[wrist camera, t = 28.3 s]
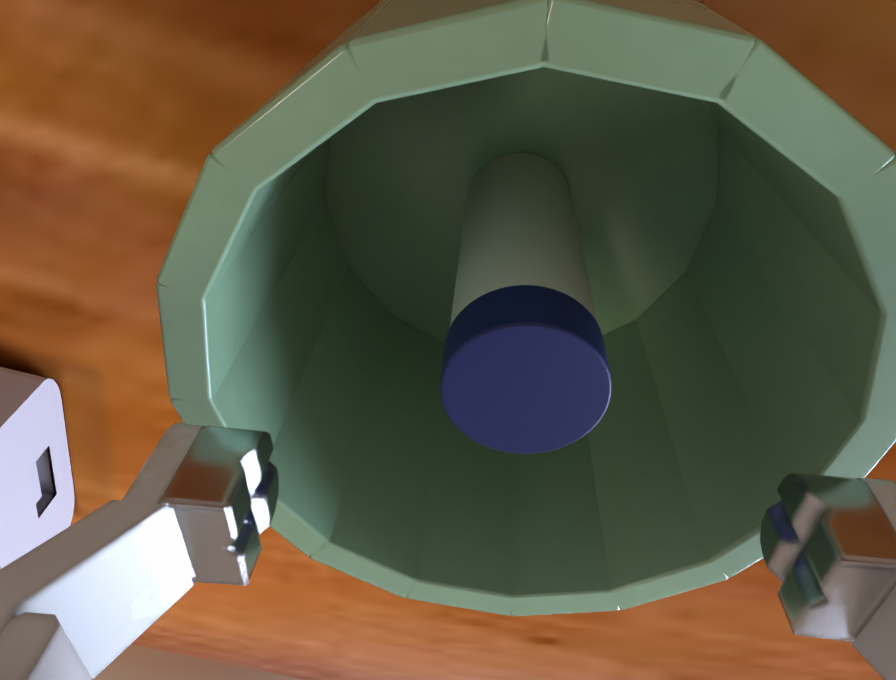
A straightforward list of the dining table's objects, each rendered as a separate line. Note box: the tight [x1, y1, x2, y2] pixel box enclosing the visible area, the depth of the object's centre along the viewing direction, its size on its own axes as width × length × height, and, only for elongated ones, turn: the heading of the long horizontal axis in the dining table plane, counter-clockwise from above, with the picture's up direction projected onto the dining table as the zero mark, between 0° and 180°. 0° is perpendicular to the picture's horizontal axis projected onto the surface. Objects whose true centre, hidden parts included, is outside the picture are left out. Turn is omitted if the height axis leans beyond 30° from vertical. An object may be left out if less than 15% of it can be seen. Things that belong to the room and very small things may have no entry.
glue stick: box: [440, 153, 612, 454], centre depth 15 cm, size 3×3×8 cm
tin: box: [156, 0, 896, 616], centre depth 15 cm, size 13×13×10 cm
